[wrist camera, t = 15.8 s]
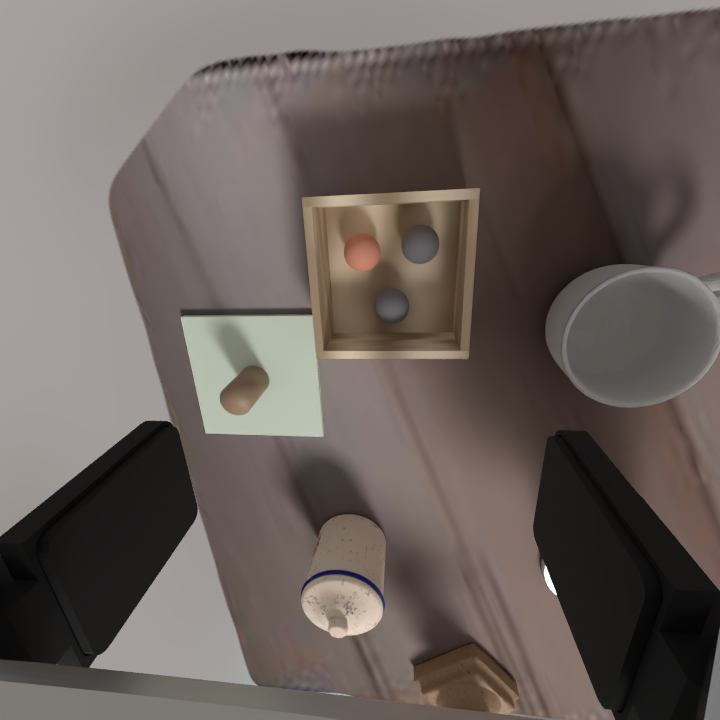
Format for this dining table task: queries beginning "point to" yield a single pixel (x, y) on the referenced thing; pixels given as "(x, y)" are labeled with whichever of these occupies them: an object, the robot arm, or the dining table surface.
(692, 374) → the teacup
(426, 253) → the ball
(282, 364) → the lid
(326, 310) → the box
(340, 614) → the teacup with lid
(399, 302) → the ball
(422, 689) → the candle holder
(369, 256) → the ball
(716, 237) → the dining table surface
